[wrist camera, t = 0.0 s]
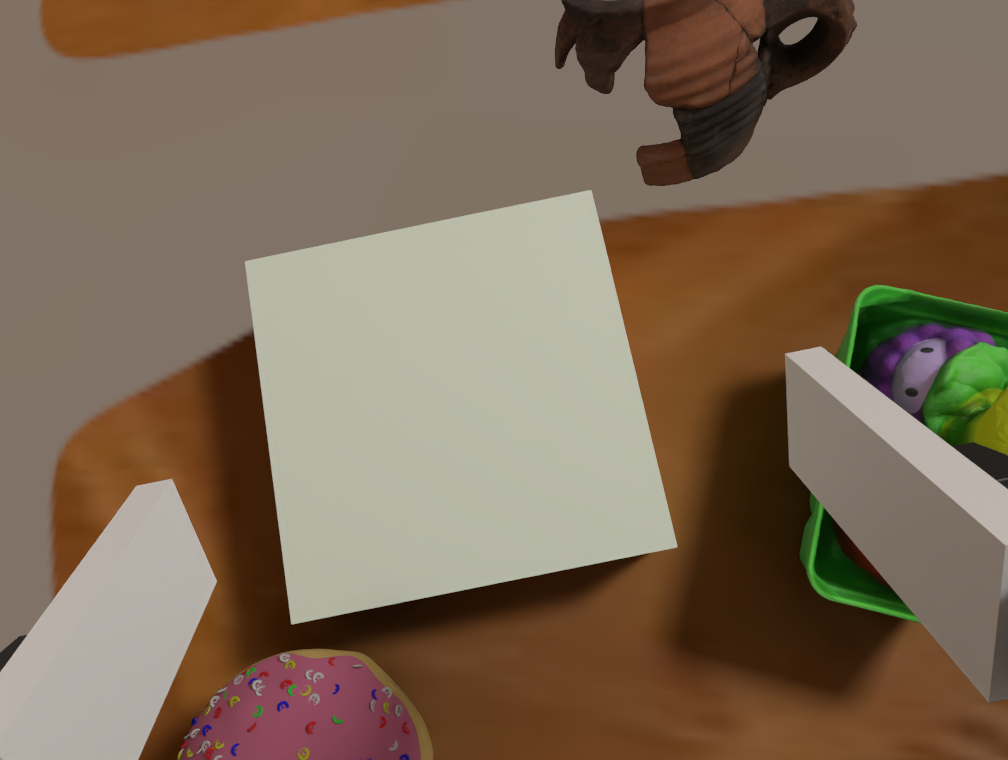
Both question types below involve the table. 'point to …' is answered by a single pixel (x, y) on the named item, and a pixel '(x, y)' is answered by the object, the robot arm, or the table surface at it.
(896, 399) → the fruit basket
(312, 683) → the cupcake
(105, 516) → the table surface
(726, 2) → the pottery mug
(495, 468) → the sage stand
